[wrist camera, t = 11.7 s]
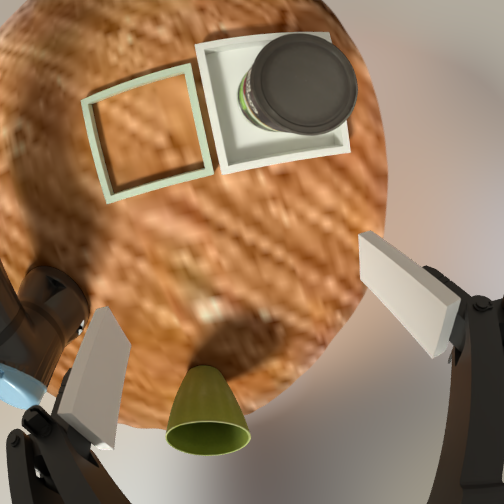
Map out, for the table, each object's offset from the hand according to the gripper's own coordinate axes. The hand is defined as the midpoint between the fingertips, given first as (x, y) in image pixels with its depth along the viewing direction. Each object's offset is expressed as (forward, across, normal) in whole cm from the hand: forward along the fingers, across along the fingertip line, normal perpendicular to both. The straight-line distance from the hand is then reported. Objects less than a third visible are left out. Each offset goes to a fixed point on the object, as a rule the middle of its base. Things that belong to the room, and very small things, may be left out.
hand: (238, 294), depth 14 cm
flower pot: (+29, -13, -37) cm, 49 cm away
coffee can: (+27, +11, +10) cm, 31 cm away
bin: (+28, +11, +10) cm, 32 cm away
